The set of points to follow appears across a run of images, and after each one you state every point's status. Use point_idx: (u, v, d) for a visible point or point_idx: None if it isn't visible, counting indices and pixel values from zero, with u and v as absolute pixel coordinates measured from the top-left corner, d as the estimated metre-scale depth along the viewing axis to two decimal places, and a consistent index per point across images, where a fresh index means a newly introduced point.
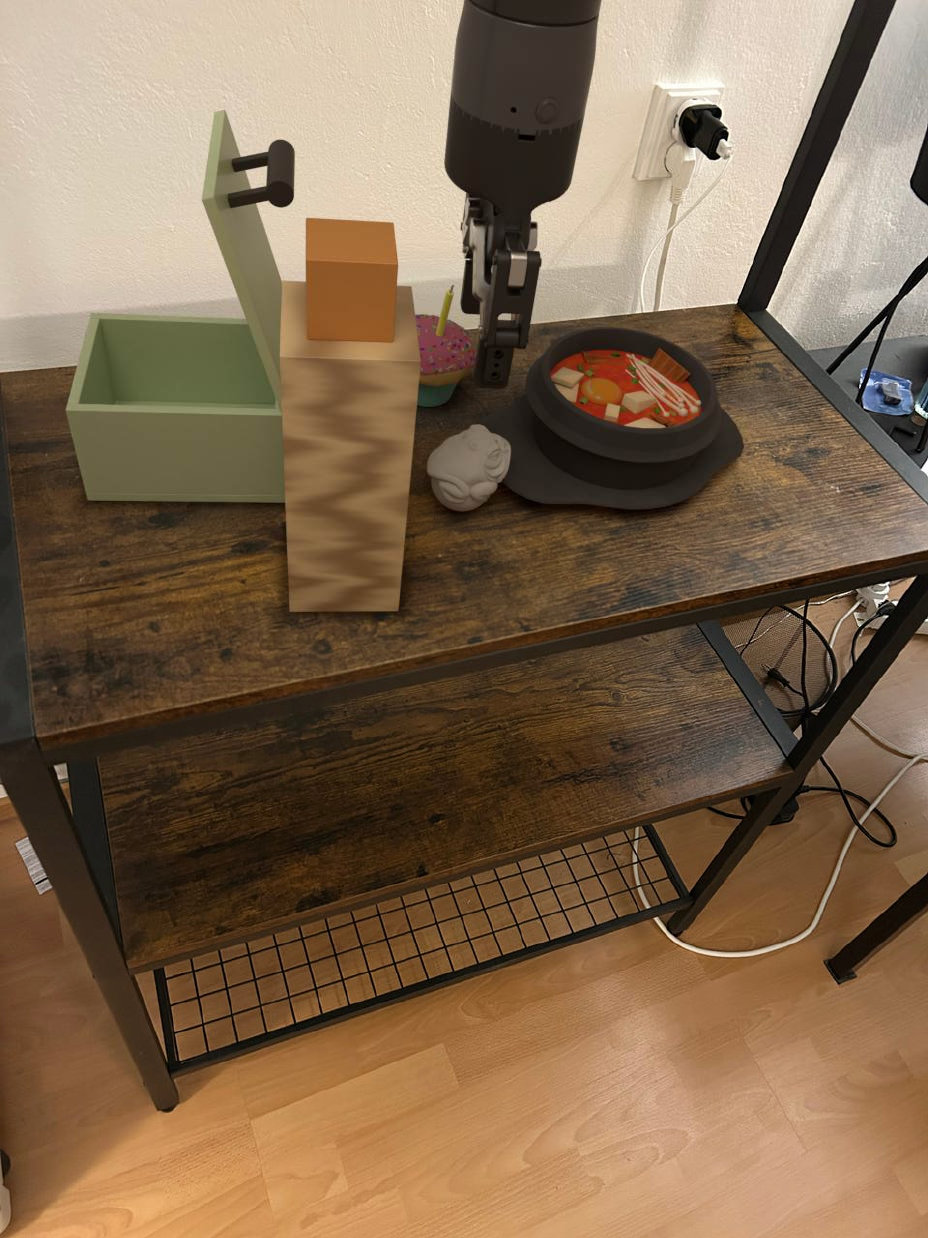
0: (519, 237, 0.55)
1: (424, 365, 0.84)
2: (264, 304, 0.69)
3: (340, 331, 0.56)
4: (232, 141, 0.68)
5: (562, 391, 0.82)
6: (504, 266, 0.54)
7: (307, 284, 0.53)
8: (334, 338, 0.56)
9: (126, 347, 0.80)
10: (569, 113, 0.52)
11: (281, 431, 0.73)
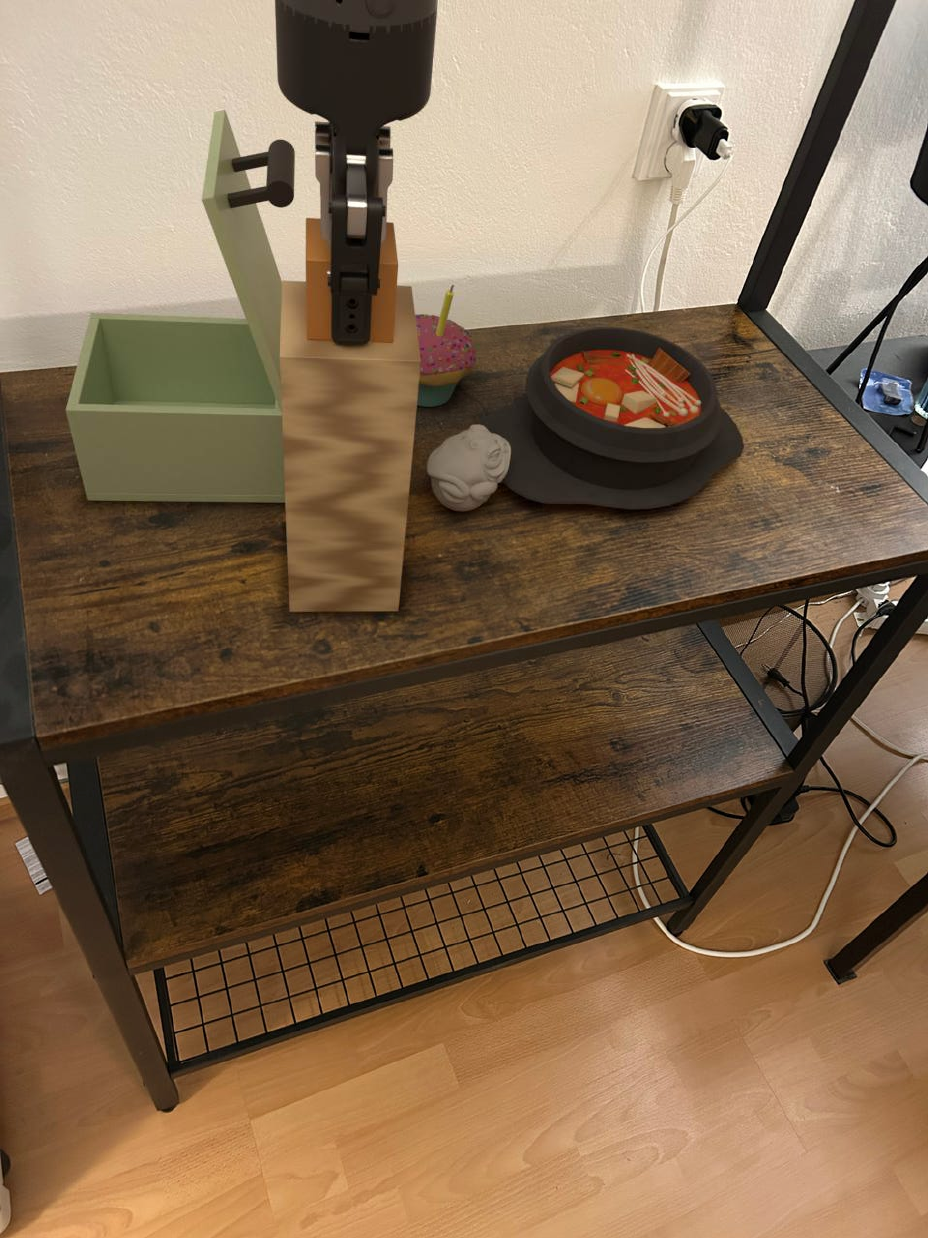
0: (363, 172, 0.47)
1: (424, 365, 0.84)
2: (264, 304, 0.69)
3: None
4: (232, 141, 0.68)
5: (562, 391, 0.82)
6: (340, 218, 0.46)
7: (307, 284, 0.53)
8: None
9: (126, 347, 0.80)
10: (410, 6, 0.43)
11: (281, 431, 0.73)
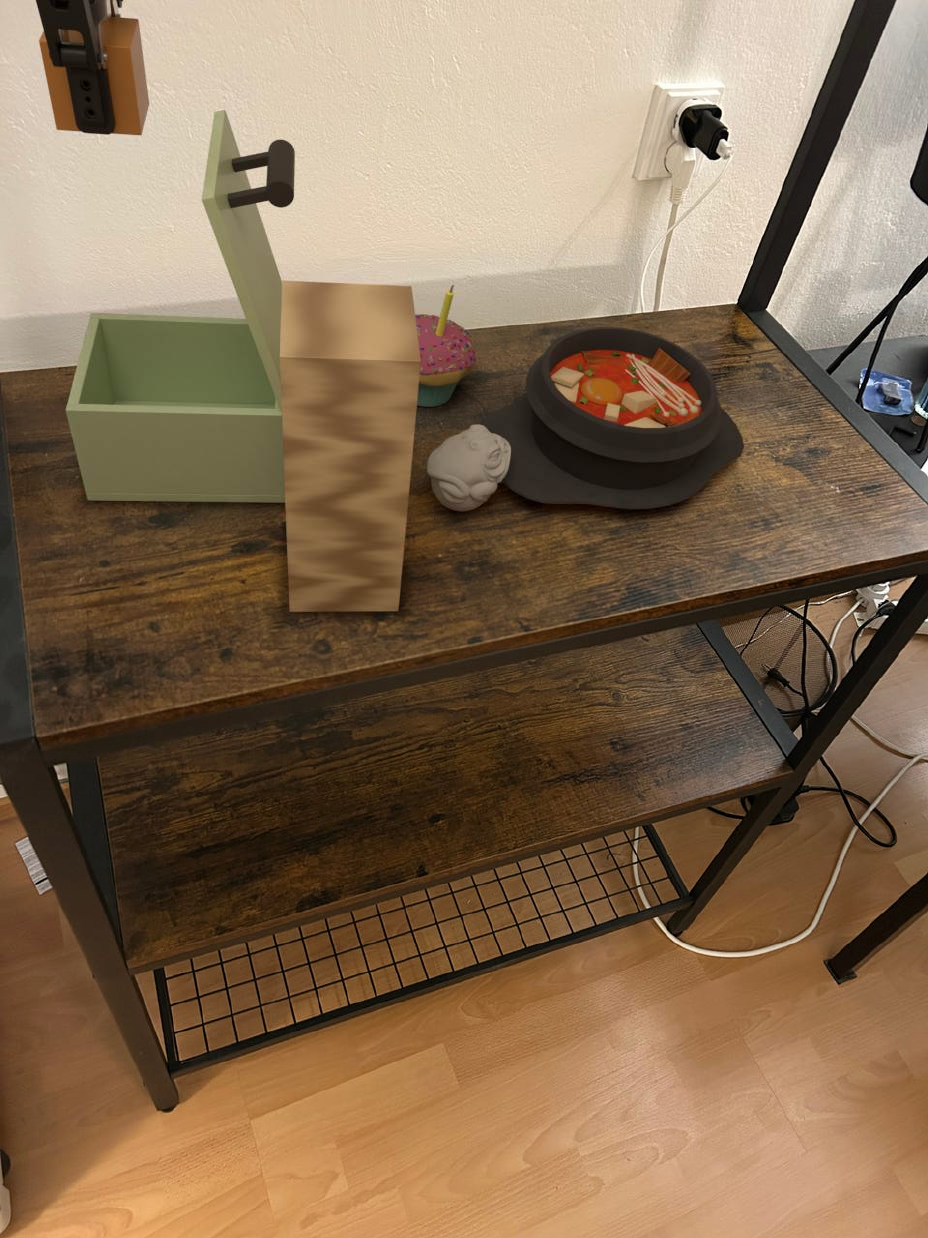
0: None
1: (424, 365, 0.84)
2: (264, 304, 0.69)
3: None
4: (232, 141, 0.68)
5: (562, 391, 0.82)
6: None
7: (45, 68, 0.56)
8: None
9: (126, 347, 0.80)
10: None
11: (281, 431, 0.73)
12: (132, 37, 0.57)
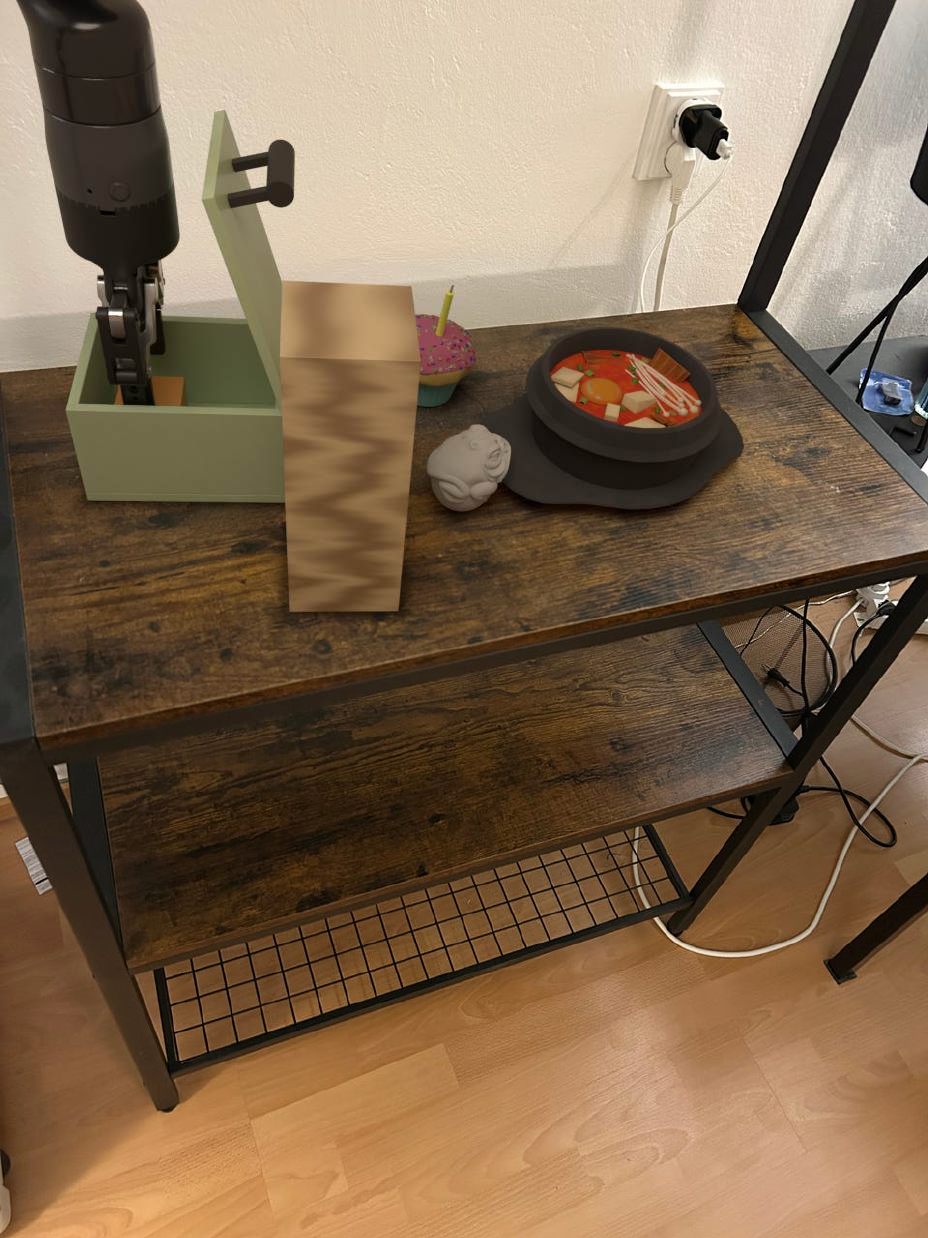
0: (125, 294, 0.65)
1: (424, 365, 0.84)
2: (264, 304, 0.69)
3: None
4: (232, 141, 0.68)
5: (562, 391, 0.82)
6: (103, 321, 0.64)
7: None
8: None
9: None
10: (143, 193, 0.62)
11: (281, 431, 0.73)
12: (181, 399, 0.77)
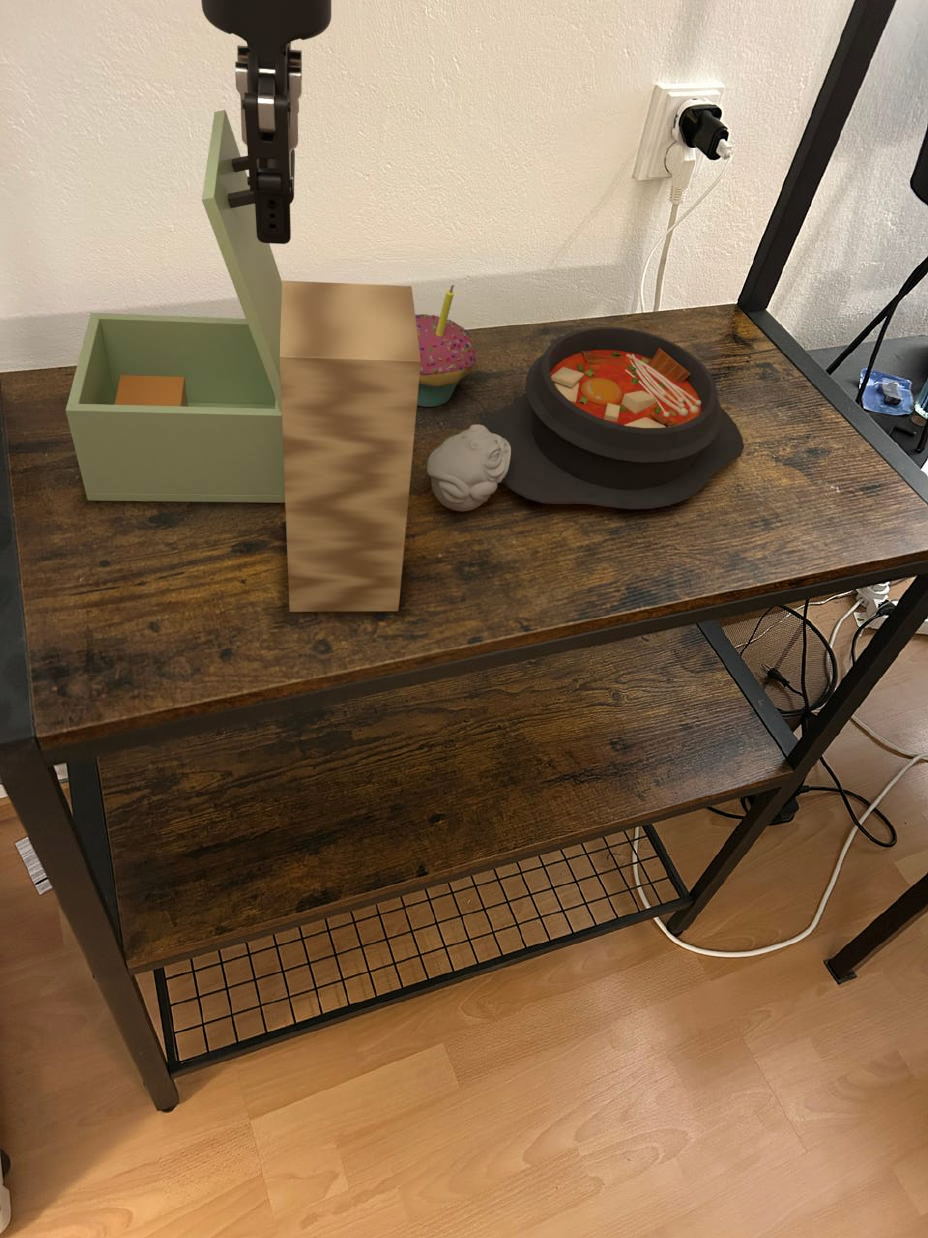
0: (273, 79, 0.56)
1: (424, 365, 0.84)
2: (264, 304, 0.69)
3: None
4: (232, 141, 0.68)
5: (562, 391, 0.82)
6: (252, 111, 0.55)
7: None
8: None
9: (126, 347, 0.80)
10: None
11: (281, 431, 0.73)
12: (181, 399, 0.77)
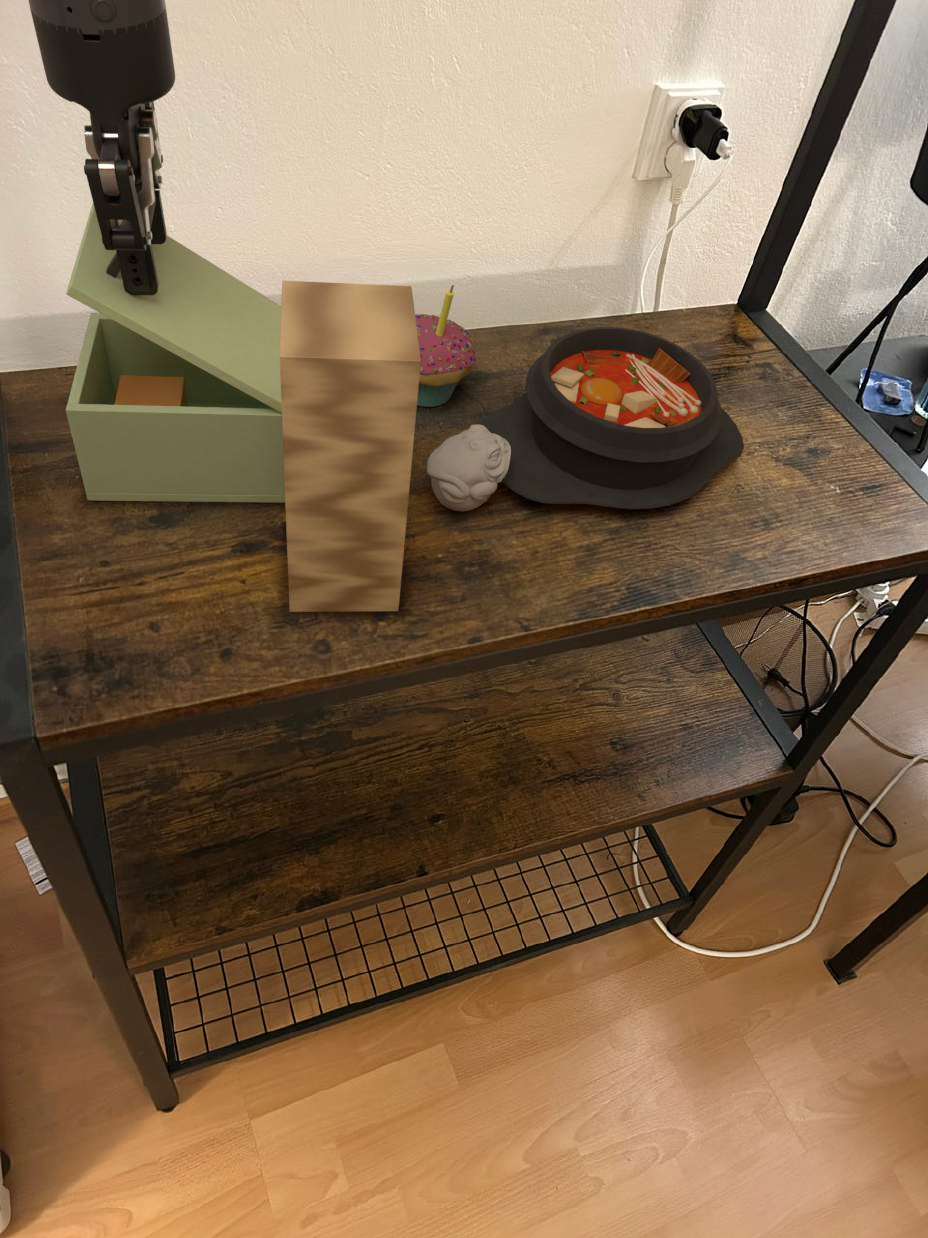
0: (116, 143, 0.58)
1: (424, 365, 0.84)
2: (209, 333, 0.70)
3: None
4: None
5: (562, 391, 0.82)
6: (94, 176, 0.57)
7: None
8: None
9: (126, 347, 0.80)
10: (131, 12, 0.54)
11: (281, 431, 0.73)
12: (181, 399, 0.77)
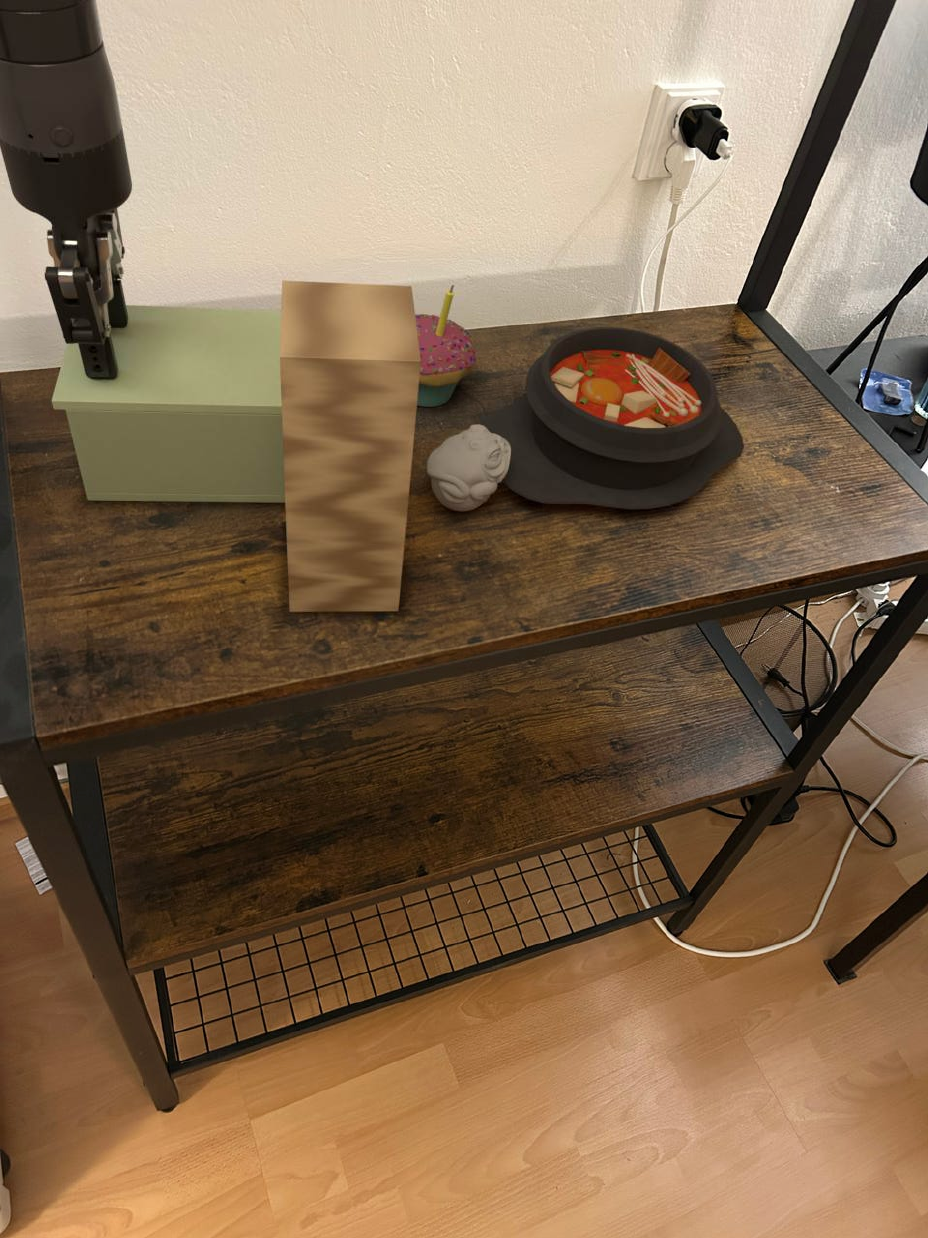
0: (75, 250, 0.63)
1: (424, 365, 0.84)
2: (195, 375, 0.72)
3: None
4: None
5: (562, 391, 0.82)
6: (53, 283, 0.62)
7: None
8: None
9: None
10: (88, 137, 0.59)
11: (281, 431, 0.73)
12: None
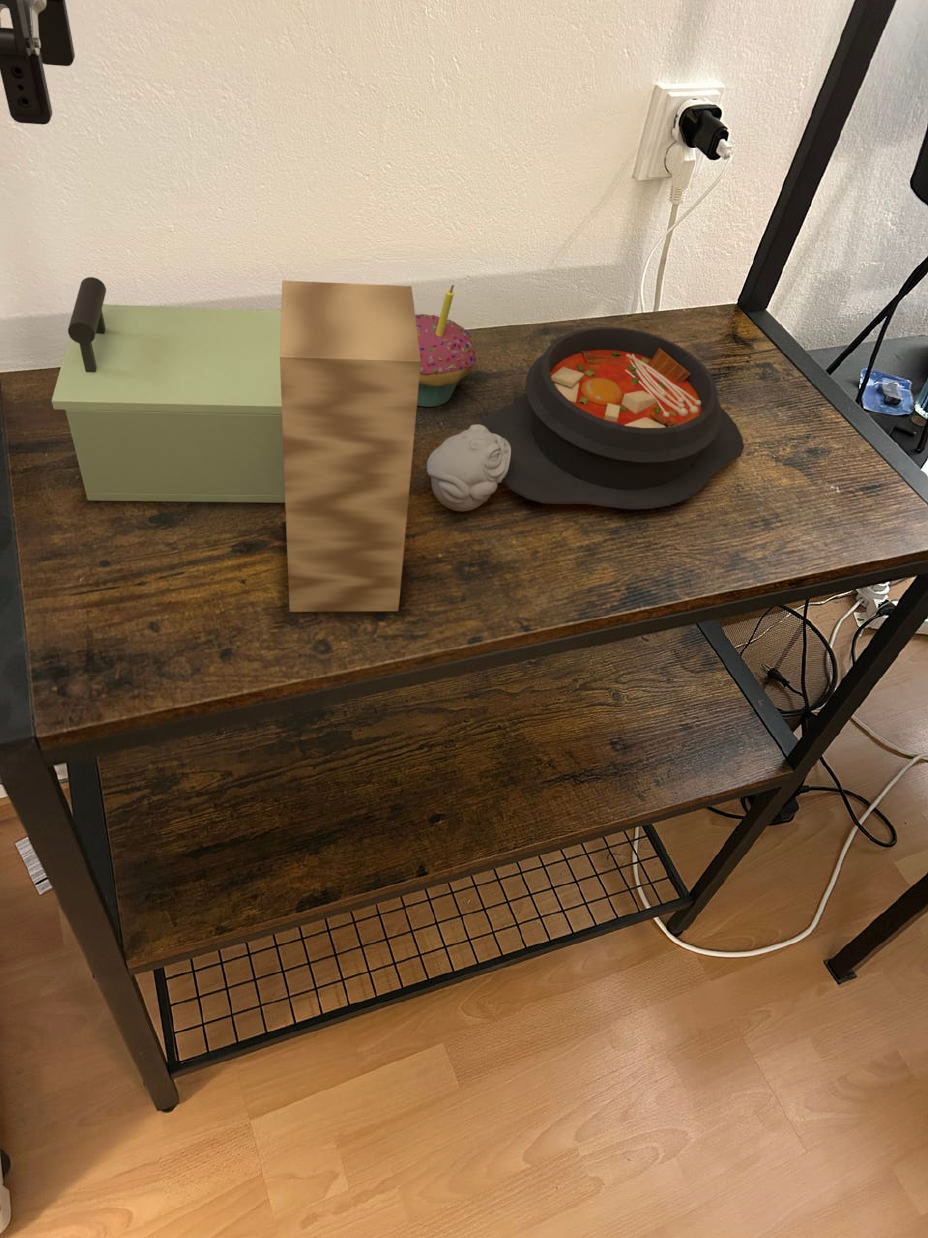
0: None
1: (424, 365, 0.84)
2: (195, 375, 0.72)
3: None
4: None
5: (562, 391, 0.82)
6: None
7: None
8: None
9: None
10: None
11: (281, 431, 0.73)
12: None
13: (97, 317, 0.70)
